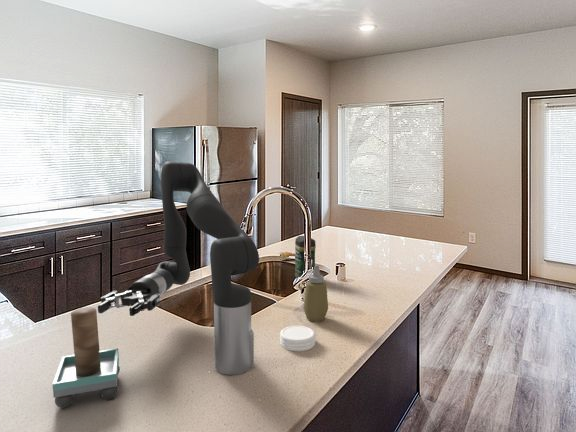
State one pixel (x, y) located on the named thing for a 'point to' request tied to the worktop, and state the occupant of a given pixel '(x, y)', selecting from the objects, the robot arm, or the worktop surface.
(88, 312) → the cylinder
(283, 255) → the pastry
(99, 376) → the wheeled cart
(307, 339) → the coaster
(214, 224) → the robot arm
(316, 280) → the squeeze bottle
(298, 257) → the coffee jar
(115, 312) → the worktop surface
